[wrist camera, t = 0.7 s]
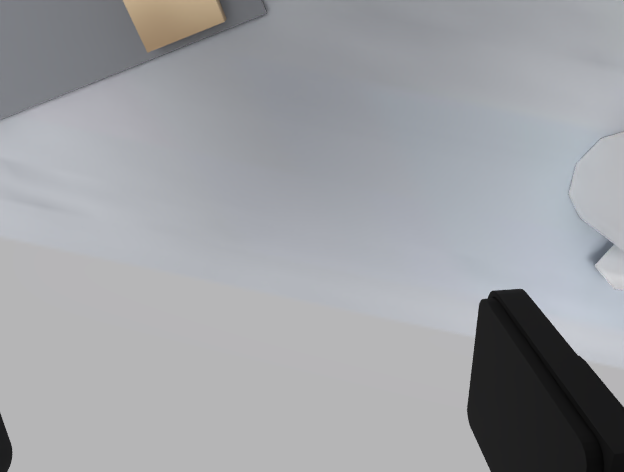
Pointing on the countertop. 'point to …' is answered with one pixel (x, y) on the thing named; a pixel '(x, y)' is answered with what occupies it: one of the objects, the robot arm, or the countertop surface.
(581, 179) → the white bottle
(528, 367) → the robot arm
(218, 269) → the countertop surface
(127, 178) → the countertop surface
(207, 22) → the oak link
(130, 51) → the charcoal mat
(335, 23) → the countertop surface
